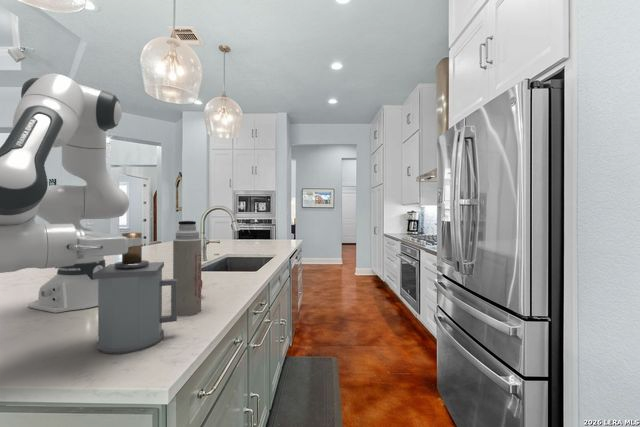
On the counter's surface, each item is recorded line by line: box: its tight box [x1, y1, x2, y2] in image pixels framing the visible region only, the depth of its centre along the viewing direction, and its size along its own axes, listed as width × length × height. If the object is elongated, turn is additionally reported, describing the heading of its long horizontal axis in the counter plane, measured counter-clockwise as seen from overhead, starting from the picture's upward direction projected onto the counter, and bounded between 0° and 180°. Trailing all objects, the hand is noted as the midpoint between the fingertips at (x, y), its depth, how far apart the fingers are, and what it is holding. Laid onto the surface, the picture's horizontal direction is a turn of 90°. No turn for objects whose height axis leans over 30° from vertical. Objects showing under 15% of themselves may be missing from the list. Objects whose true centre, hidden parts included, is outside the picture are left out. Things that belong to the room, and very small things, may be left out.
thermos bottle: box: [172, 220, 202, 317], centre depth 96 cm, size 8×8×28 cm
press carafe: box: [93, 261, 178, 355], centre depth 75 cm, size 17×14×18 cm
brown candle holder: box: [113, 232, 150, 269], centre depth 74 cm, size 10×10×19 cm
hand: (136, 240), depth 75 cm, fingers closed on brown candle holder, 4 cm apart
